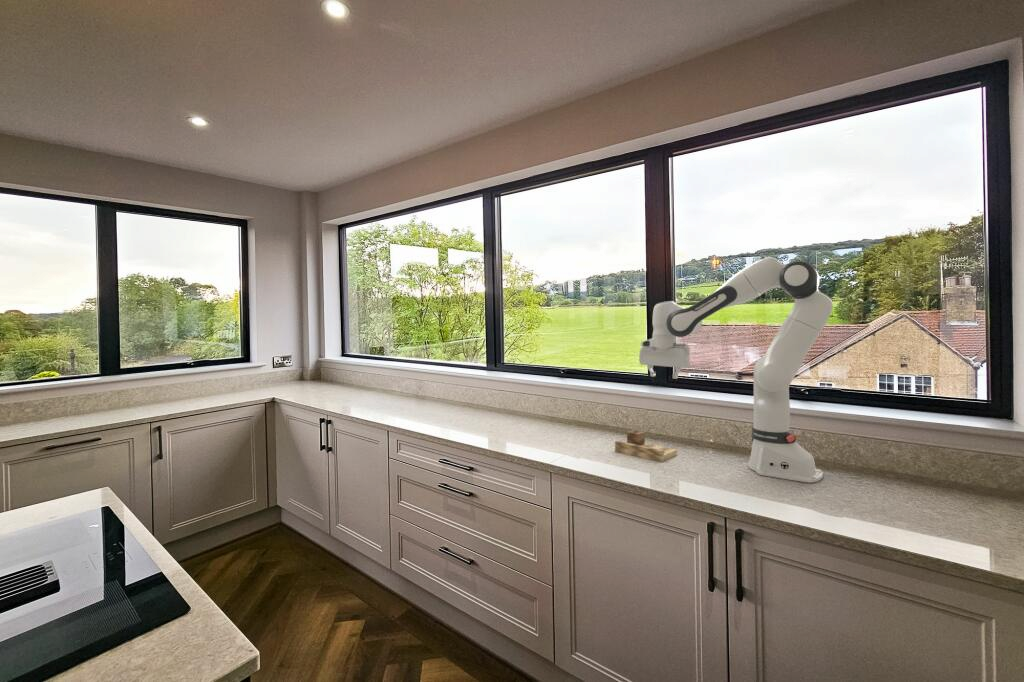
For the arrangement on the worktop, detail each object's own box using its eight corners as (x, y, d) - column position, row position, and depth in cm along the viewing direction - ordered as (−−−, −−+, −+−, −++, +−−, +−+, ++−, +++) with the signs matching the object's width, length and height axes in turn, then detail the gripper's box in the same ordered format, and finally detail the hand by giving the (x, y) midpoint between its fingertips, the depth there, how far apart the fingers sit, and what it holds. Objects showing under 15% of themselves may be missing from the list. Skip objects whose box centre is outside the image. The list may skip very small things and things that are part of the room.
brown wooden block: (644, 444, 192) (644, 429, 191) (638, 446, 188) (638, 432, 188) (633, 441, 195) (633, 427, 195) (627, 444, 192) (627, 430, 192)
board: (676, 454, 184) (676, 444, 184) (661, 462, 175) (661, 451, 175) (631, 445, 198) (631, 435, 198) (615, 451, 190) (615, 441, 189)
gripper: (693, 343, 183) (692, 378, 184) (645, 341, 198) (645, 374, 198) (685, 344, 179) (685, 380, 179) (637, 342, 193) (637, 376, 194)
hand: (663, 377), depth 189 cm, fingers open, 8 cm apart
